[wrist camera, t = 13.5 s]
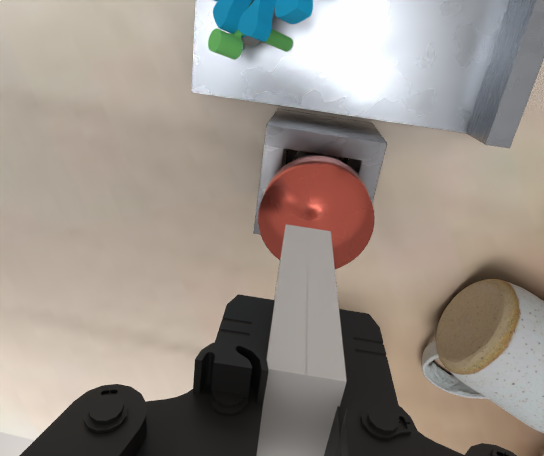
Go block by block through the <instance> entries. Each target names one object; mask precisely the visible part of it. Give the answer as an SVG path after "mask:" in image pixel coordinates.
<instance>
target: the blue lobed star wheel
mask: <svg viewBox="0 0 544 456" xmlns="http://www.w3.org/2000/svg"><path fill="white" fill-rule="evenodd" d="M214 1H218V2H217V3H216V4H215V6H214V8H213V17H214V20H215V23H216V24H217V26H218V28H220V29H222V30H224V31H222V30H220V29H217V28H216V29H214V30H213V31H212V32H211V34H210V36H209V40H208V47H209V50H210V51H212V52H215V53H217V54H220V55H223V56H225V57H228V58H231V59H234V60H235V59H237V58H238V57H239V56H240V54H241V52H242V49H243V44H245V45H248V46H251V47H253V46H256V45H257V44H258V43H259V42H260V41H262V42H265V43H267V44H269V45H272V46H274V47H276V48H278V49H281V50H283V51H286V52H287V51H289V50H290V49H291V47H292V44H293V41H292V38H290V37H288V36H286V35H284V34H282V33H280V32H278V31H275V30H273V29H272V19H273V17H274V15H276V17H277V18H279V19H281V20H283V21H285V22H287V23H289V24H297V23H299V22H301V21H303V20H305V19H307V18H308V17H310V16H311V14H312V10H313V0H214ZM225 31H227V32H229V33H230V34H229V33H227V32H225Z"/></svg>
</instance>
